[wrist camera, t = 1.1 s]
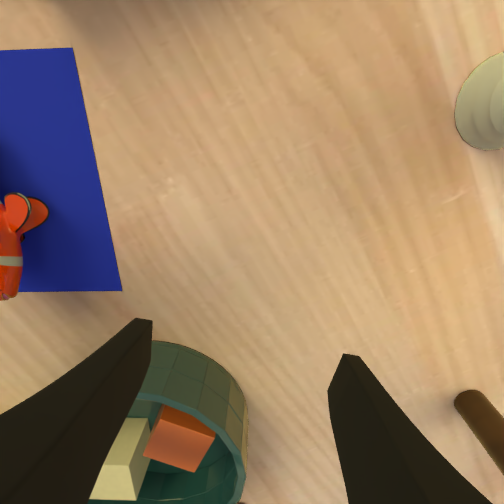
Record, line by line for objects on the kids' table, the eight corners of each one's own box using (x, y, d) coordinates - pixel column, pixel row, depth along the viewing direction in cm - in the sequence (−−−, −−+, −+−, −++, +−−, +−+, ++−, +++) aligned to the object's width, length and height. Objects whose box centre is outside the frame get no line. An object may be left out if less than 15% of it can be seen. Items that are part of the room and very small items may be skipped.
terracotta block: (204, 424, 26) (194, 473, 22) (159, 408, 25) (142, 455, 21) (222, 392, 24) (215, 438, 20) (175, 374, 24) (159, 419, 20)
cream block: (153, 450, 27) (136, 500, 23) (109, 449, 27) (85, 499, 23) (147, 417, 25) (128, 465, 22) (101, 416, 26) (74, 464, 22)
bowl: (233, 481, 29) (228, 547, 24) (75, 458, 28) (39, 522, 24) (262, 356, 23) (262, 411, 19) (67, 325, 23) (18, 374, 18)
